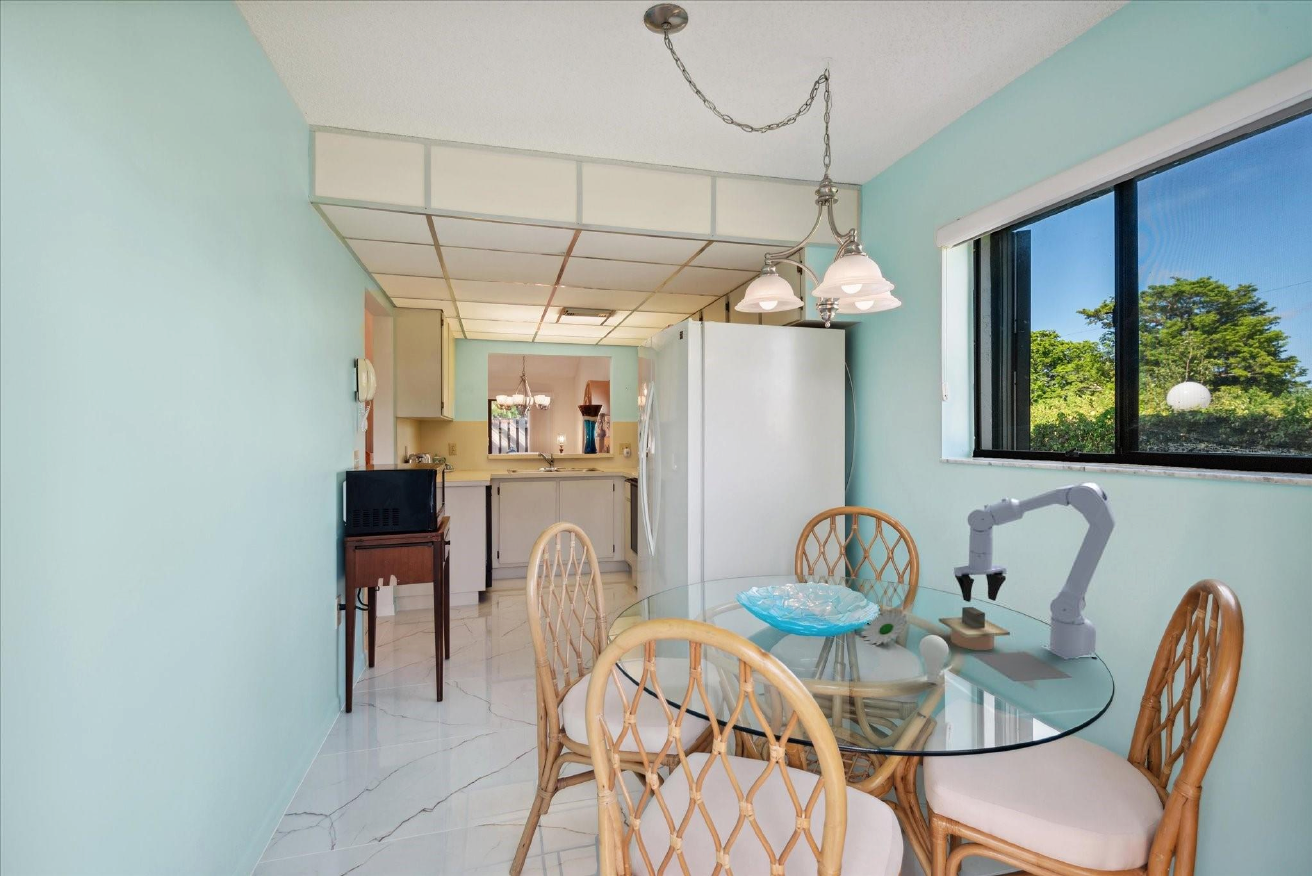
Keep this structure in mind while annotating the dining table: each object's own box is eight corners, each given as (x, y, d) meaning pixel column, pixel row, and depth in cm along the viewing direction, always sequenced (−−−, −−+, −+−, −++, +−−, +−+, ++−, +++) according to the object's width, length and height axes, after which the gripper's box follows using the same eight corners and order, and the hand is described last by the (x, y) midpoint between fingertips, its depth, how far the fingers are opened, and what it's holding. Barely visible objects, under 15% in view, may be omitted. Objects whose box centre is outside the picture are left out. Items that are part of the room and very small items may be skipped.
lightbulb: (940, 677, 143) (941, 631, 142) (952, 689, 136) (954, 641, 136) (914, 677, 143) (915, 630, 142) (925, 689, 137) (926, 640, 136)
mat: (1025, 653, 157) (1025, 651, 157) (1072, 679, 142) (1072, 677, 142) (971, 656, 155) (971, 654, 155) (1014, 683, 140) (1014, 681, 140)
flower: (863, 592, 189) (912, 613, 160) (872, 607, 189) (923, 631, 160) (828, 616, 188) (872, 642, 158) (838, 631, 188) (883, 660, 158)
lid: (978, 619, 169) (979, 602, 169) (1009, 635, 157) (1010, 616, 157) (938, 621, 167) (939, 604, 167) (966, 637, 156) (967, 619, 155)
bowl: (976, 636, 168) (977, 620, 168) (1002, 650, 159) (1002, 633, 158) (943, 638, 167) (943, 622, 167) (966, 652, 157) (967, 635, 157)
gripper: (994, 547, 175) (993, 594, 175) (947, 549, 173) (946, 596, 173) (1012, 553, 168) (1010, 602, 168) (963, 555, 166) (962, 604, 166)
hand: (979, 600), depth 170 cm, fingers open, 7 cm apart
